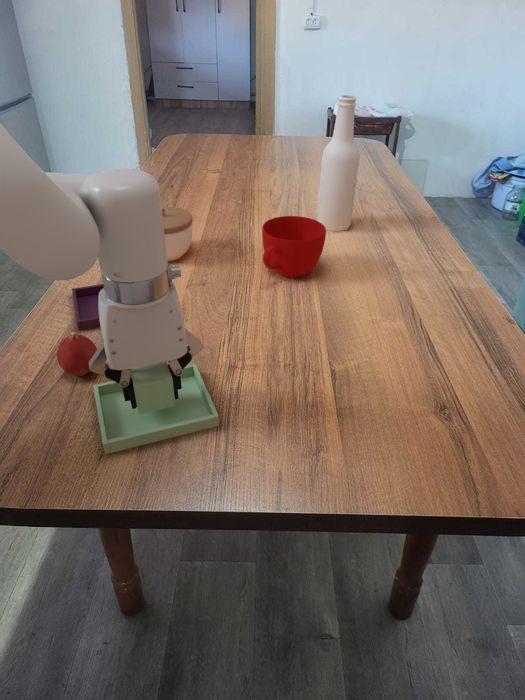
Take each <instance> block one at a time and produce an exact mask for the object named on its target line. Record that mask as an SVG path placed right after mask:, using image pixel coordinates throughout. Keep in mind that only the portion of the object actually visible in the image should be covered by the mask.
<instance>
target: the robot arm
mask: <svg viewBox="0 0 525 700" xmlns="http://www.w3.org/2000/svg"><path fill="white" fill-rule="evenodd" d="M162 207H163V206H162V198H161V188H160V186H159V183H158V181H157V179H156V178H155V177H154V176H153V175H152V174H150V173H149V172H147V171H145V170H141V169H136V168H112V169H106V170H103V171H100V172H98V173H70V172H54V171H52V172H51V171H50V172H49V171H44V170H43V169H42V168H41V167H40V166H39V165H38V163H36V162H35V160H34V159H32V158H31V157H30V155H28V153H27V152H26V151H25V150H24V149H23V148H22V147H21V145H20V144H19V143H18V141H16V139H15V138H14V137H13V136H12V135H11V134H10V132H9V131H8V130H7V129H6V128H5V126H4V125H3V124H2V123H1V122H0V251H2V252H3V254H6V255H7V257H9V258H10V259H11V260H13V261H14V262H15V263H17V264H18V265H19V266H20V267H22V268H23V269H25V270H27V271H28V272H30V273H32V274H34V275H36V276H38V277H40V278H43V279H47V280H49V281H50V280H51V281H58V282H59V281H69V280H74V279H77V278H79V277H81V276H83V275H85V273H87V272H89V270H90V269H91V268H92V267H93V266H94V265H95V263H96V262H97V260H98V264H99V265H98V266H99V269H100V274H101V280H102V284H103V285H104V288H103V289H102V290H101V291H100V292H99V299H98V306H99V320H100V327H99V328H100V334H101V340H102V342H101V344H100V345H99V347H97V351H96V352H95V354H94V355H93V357H92V358H91V360H90V361H89V370H90V372H92V373H94V374H97V375H100V376H104V377H105V378H106V379H107V380H110V381H115V382H117V383H119V384H120V386H121V387H122V389H123V394H124V399H125V401H130V402H131V406H132V409H135V408H136V407H137V403H136V398H135V392H134V387H133V383H132V379H131V371H132V368H137V367H142V366H147V365H152V364H157V363H161V362H167V365H168V367H169V370H170V373H171V376H172V379H173V387H174V396H175V399H179V396H178V390H179V389H182V385H181V376H180V375H181V374H182V373H183V369H184V368H185V367H186V366H187V365H189V364H190V363H191V361H192V360H193V358H194V357H195V356H197V355H198V354H199V353H200V352H201V351H202V350H203V349H204V345H203V342H202V341H201V339H200V338H198V337H197V336H196V335H195V334H193V333H192V332H191V331H189V330H188V329H187V328H186V326H185V320H184V314H183V311H182V307H181V303H180V298H179V294H178V291H177V288H176V286H175V283H174V281H173V280H176V278H181V277H182V271H181V267H180V265H175V266H173V265H170V263H168V261H167V254H166V245H165V235H164V225H163V215H162ZM106 361H107V362H106Z"/></svg>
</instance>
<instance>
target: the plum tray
mask: <svg viewBox="0 0 525 700" xmlns="http://www.w3.org/2000/svg"><path fill="white" fill-rule="evenodd" d="M103 288H104V285H103V283H99V284H94V285H87V286H81V287H80V286H79V287H75V288H74V287H73V288H71V294H72V300H73V306H74V313H75V321H76V326H77V329H78V331H79V332H82V331H87V330H93V329H99V328H101V327H100V320H99V306H98V299H99V292H100V291H101V290H102V289H103Z"/></svg>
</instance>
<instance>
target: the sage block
mask: <svg viewBox="0 0 525 700" xmlns="http://www.w3.org/2000/svg"><path fill="white" fill-rule="evenodd" d="M131 379H132V383H133V387H134V392H135V398H136V403H137V409H138V413H139V414H144V413H148V412H152V411H156V410H161V409H165V408H169V407H174V406H176V405H175V396H174V387H173V379H172V376H171V373H170V370H169V367H168V361H166V362H161V363H157V364H152V365H147V366H142V367H137V368H132V371H131Z"/></svg>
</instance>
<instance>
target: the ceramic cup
mask: <svg viewBox="0 0 525 700" xmlns="http://www.w3.org/2000/svg"><path fill="white" fill-rule="evenodd" d="M261 229H262V230H261V233H262V234H261V236H262V247H263V255H262V262H263V265H264V267H265V268H266V269H269V270H273V271H274V272H275V273H276V274H277V275H279V276H281V277H284V278H288V279H297V278H302V277H304V276H306V275H308V273H310V272H311V271H312V270H313V269H315V267H316V265H317V264H318V263H319V261H320V259H321V256H322V254H323V251H324V247H325V243H326V237H327V236H326V235H327V230H326V228H325V226H324V225H323V224H322V223H320V222H318V221H316V219H313V218H310V217H306V216H298V215H283V216H278V217H277V216H276V217H273V218H270V219H268V220H266V221H265V222H264V223H263V224H262V228H261Z"/></svg>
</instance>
